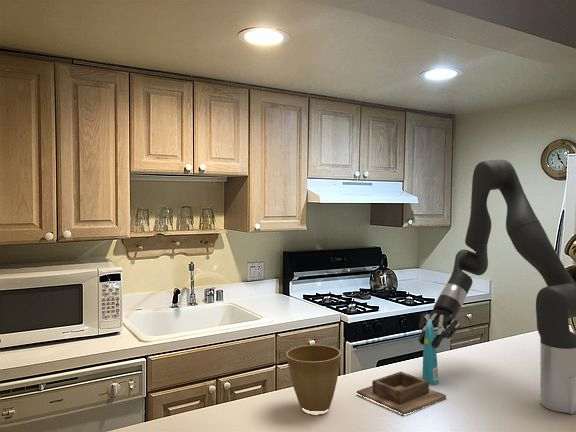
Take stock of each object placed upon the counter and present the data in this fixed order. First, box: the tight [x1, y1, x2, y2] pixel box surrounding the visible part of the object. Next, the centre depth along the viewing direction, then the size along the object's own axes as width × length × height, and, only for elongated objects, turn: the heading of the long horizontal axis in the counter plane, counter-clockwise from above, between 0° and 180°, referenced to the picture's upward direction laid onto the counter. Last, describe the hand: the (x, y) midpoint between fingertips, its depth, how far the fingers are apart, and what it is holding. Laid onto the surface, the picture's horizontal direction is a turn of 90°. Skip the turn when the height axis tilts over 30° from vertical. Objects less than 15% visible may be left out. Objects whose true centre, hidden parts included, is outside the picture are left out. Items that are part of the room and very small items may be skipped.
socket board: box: [356, 371, 447, 414], centre depth 140 cm, size 18×18×5 cm
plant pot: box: [286, 344, 342, 411], centre depth 132 cm, size 15×15×16 cm
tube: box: [421, 319, 439, 386], centre depth 151 cm, size 7×5×19 cm, turn 160°
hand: (427, 344), depth 150 cm, fingers closed on tube, 4 cm apart
